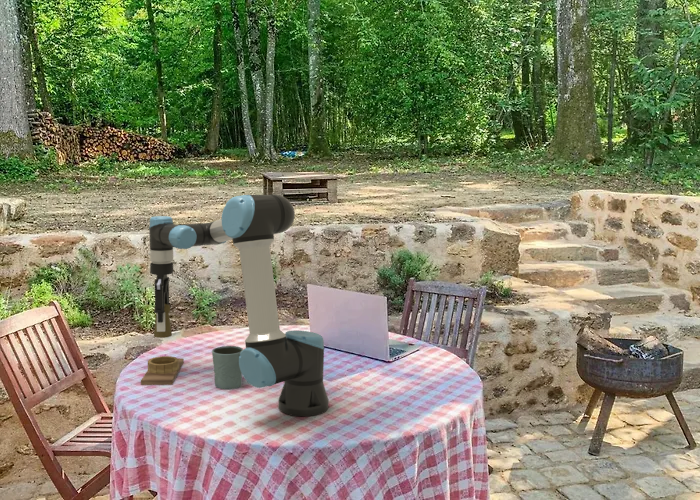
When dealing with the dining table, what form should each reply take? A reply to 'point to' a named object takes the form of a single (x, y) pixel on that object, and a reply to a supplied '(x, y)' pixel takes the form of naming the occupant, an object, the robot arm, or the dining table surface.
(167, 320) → the cork
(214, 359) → the grey green cup
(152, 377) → the board
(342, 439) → the dining table surface
